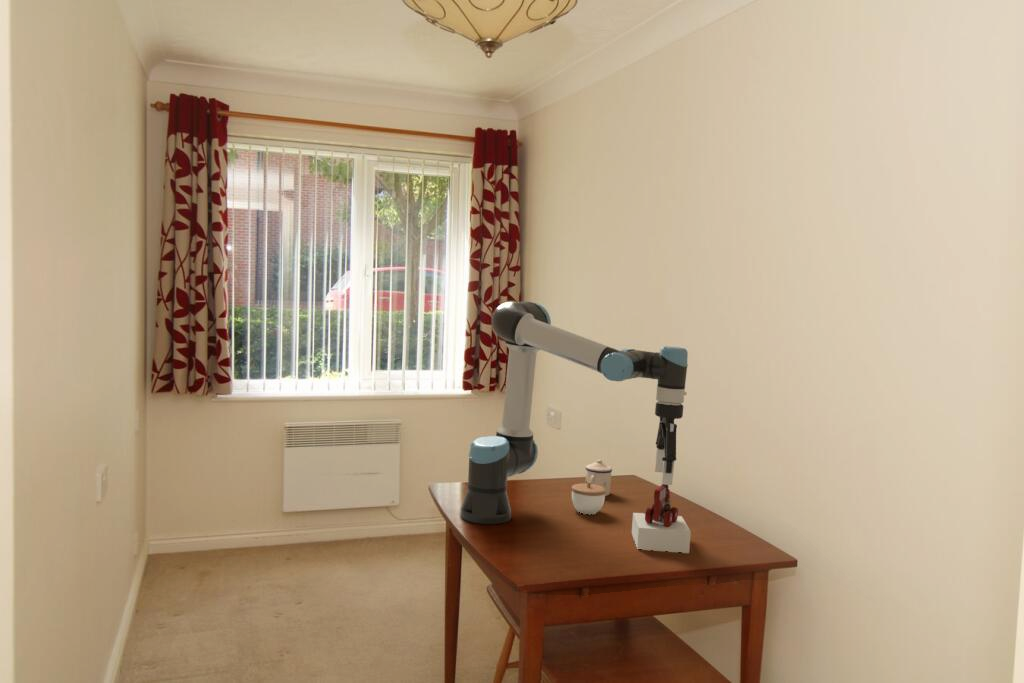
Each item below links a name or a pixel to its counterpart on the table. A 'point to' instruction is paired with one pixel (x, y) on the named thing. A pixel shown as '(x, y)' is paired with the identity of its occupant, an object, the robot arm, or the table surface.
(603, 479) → the teacup with lid
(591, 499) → the lidded jar
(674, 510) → the toy fire truck
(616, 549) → the table surface
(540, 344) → the robot arm
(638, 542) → the cream white block
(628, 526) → the table surface
